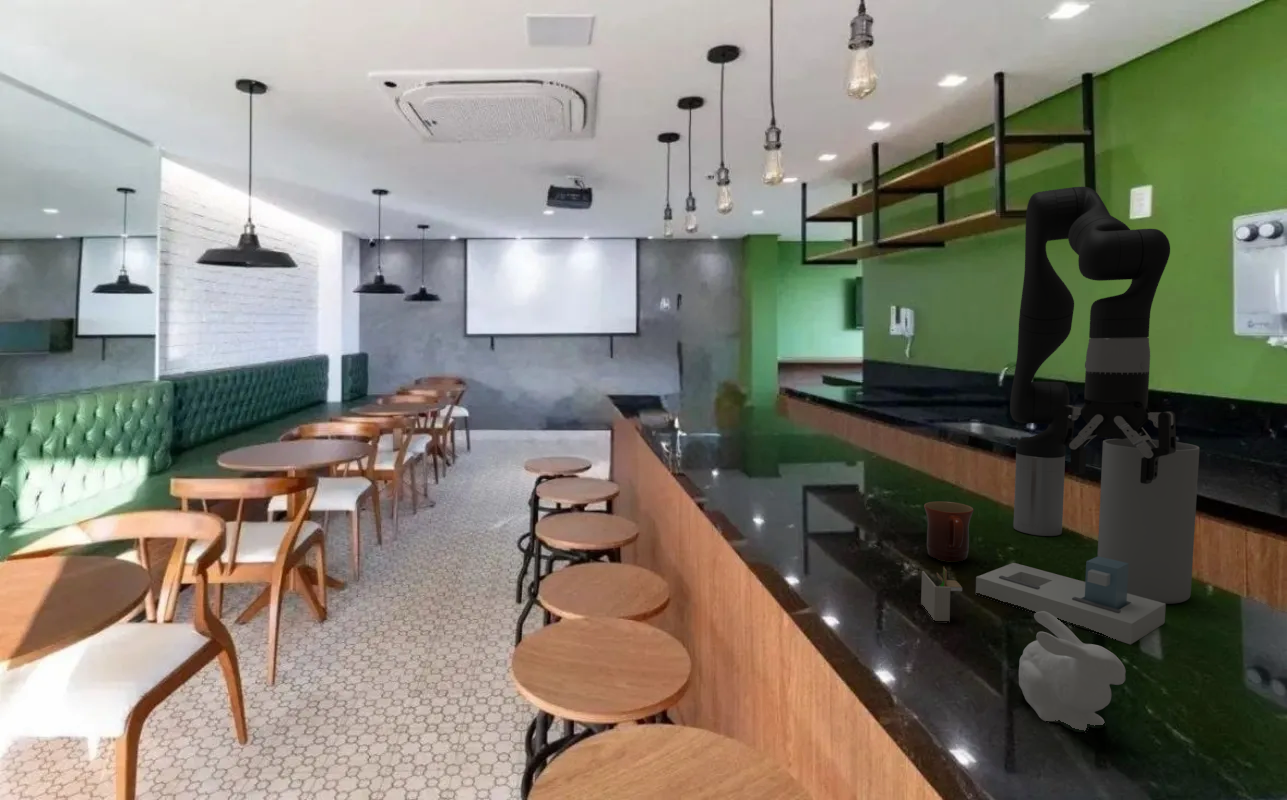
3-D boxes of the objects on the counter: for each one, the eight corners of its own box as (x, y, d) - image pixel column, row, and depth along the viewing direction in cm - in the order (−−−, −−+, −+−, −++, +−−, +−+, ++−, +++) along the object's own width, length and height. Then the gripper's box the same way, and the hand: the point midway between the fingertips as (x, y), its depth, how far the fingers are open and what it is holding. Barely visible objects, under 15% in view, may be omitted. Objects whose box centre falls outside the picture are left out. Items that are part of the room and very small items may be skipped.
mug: (918, 549, 130) (919, 500, 129) (964, 551, 129) (966, 502, 128) (932, 570, 119) (934, 516, 118) (983, 572, 117) (985, 518, 116)
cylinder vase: (1169, 581, 111) (1178, 440, 109) (1205, 609, 100) (1215, 451, 97) (1086, 574, 115) (1092, 437, 113) (1111, 600, 104) (1118, 448, 102)
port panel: (1013, 579, 114) (1013, 561, 113) (1164, 623, 95) (1165, 601, 95) (975, 594, 107) (976, 575, 107) (1130, 644, 89) (1131, 621, 88)
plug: (1095, 612, 99) (1098, 556, 99) (1125, 621, 96) (1128, 563, 95) (1079, 621, 96) (1082, 563, 96) (1110, 630, 93) (1113, 570, 92)
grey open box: (946, 607, 103) (948, 559, 102) (961, 625, 96) (963, 574, 96) (921, 606, 104) (922, 558, 103) (934, 624, 97) (935, 573, 96)
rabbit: (1133, 742, 67) (1139, 632, 66) (1048, 746, 67) (1053, 636, 66) (1053, 681, 79) (1057, 588, 78) (981, 685, 79) (984, 591, 78)
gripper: (1187, 369, 89) (1180, 483, 91) (1074, 367, 101) (1070, 467, 103) (1166, 371, 85) (1159, 490, 87) (1051, 368, 97) (1047, 473, 99)
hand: (1111, 478), depth 95 cm, fingers open, 8 cm apart
